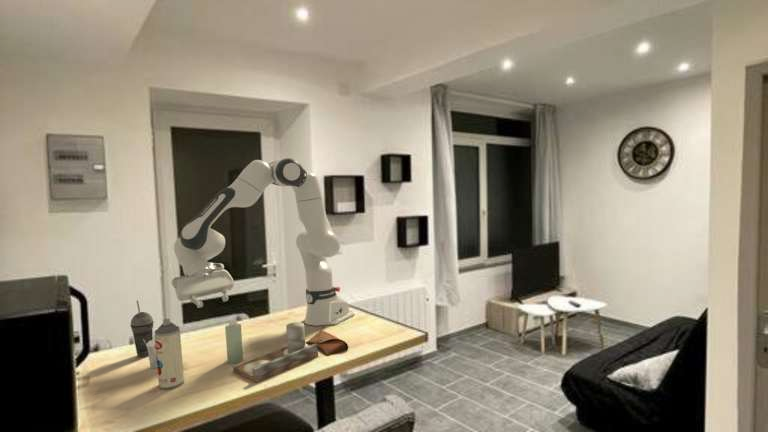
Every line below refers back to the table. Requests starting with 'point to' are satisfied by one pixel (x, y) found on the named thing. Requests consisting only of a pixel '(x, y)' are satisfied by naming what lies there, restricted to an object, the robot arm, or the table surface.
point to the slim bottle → (234, 342)
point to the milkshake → (152, 353)
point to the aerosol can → (169, 356)
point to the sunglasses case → (328, 343)
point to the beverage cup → (142, 331)
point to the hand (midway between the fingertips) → (213, 303)
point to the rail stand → (280, 356)
